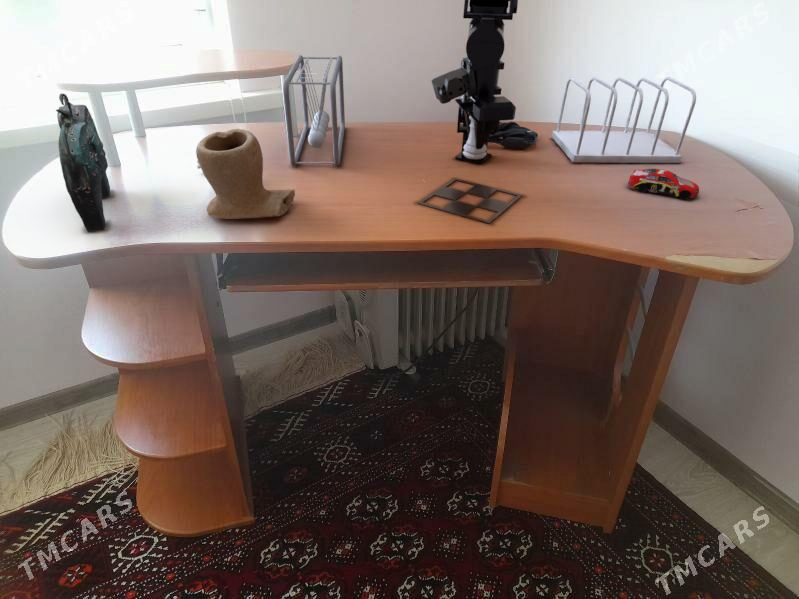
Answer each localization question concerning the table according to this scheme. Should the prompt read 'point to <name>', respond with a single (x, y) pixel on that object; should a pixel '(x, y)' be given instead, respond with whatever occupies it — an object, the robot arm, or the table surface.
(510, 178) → the table surface
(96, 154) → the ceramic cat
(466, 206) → the chessboard
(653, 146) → the file sorter
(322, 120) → the newton's cradle
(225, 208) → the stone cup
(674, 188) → the race car
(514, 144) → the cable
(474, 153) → the rook chess piece
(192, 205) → the table surface
